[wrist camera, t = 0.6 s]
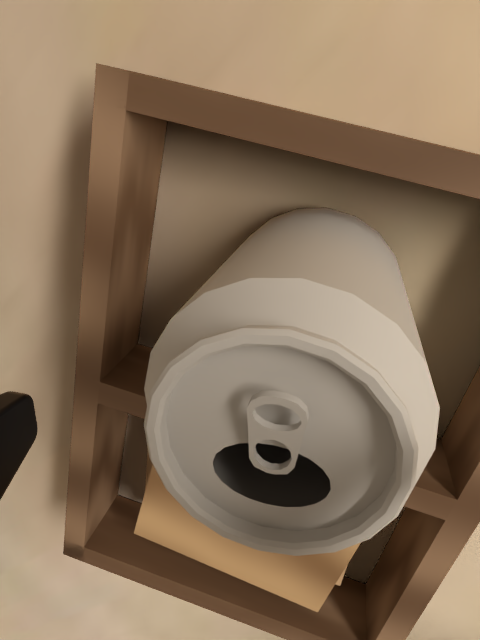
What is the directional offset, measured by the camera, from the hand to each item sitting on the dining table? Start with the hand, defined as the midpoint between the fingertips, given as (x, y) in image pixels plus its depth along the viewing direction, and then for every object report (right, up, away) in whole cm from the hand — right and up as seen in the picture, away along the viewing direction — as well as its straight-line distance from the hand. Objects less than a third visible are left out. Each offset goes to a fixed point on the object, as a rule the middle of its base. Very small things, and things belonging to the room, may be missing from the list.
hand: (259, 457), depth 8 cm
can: (+3, +4, +13) cm, 14 cm away
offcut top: (0, -7, +16) cm, 17 cm away
